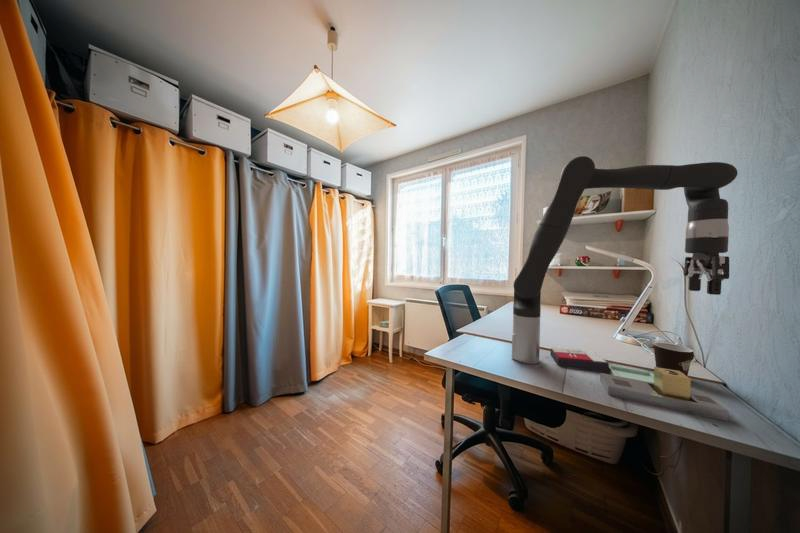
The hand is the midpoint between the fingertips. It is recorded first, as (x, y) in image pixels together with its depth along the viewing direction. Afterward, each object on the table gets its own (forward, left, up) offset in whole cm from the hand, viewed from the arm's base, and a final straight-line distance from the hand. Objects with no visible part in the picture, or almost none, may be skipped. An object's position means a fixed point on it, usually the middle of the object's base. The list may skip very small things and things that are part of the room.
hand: (703, 292), depth 68 cm
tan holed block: (-10, -11, -29) cm, 33 cm away
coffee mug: (-1, +9, -30) cm, 31 cm away
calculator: (-28, +6, -30) cm, 41 cm away
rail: (-13, -11, -29) cm, 34 cm away
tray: (-14, 0, -29) cm, 32 cm away
